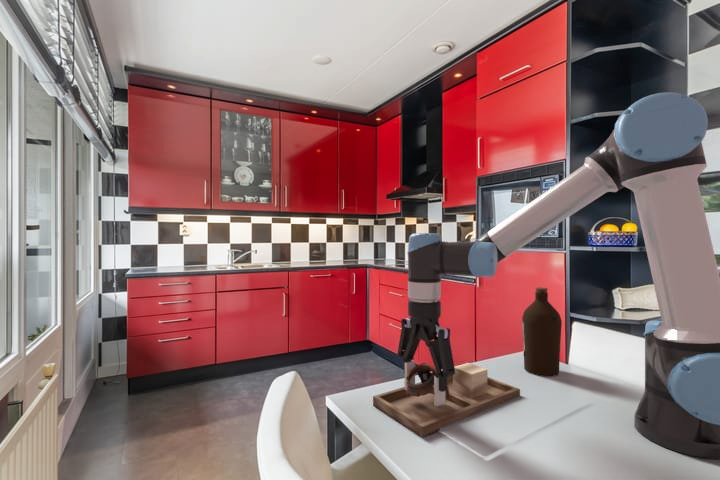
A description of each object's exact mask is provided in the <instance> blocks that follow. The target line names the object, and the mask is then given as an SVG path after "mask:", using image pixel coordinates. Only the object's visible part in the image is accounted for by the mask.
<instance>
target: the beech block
mask: <svg viewBox="0 0 720 480" xmlns="http://www.w3.org/2000/svg"><path fill="white" fill-rule="evenodd" d="M454 368H455V374H454V375H453V390H454V391H456V392H458V393H460V394H463V395H465V396H467V397H469V398H471V399H472V398H475V397H478V396H480V395H483V394H486V393H487V377H488V369H487V368H485V367H482V366H479V365H476V364H473V363H470V362H465V363H462V364H460V365H459V364H458V365H454Z"/></svg>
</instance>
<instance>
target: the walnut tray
mask: <svg viewBox="0 0 720 480" xmlns="http://www.w3.org/2000/svg"><path fill="white" fill-rule="evenodd" d="M415 384H416V385H418V384H422V383H421V381H420V382H417V383H416V382H415ZM447 386H448V389H449V395H450V398H448V396H447V393H446V392H445V404H442V405H440V406H435V405H434V394H431V393H429V394H426V395H423V396H421V395H420V396H419V397H417V396H411V395H410V397H409V396H408V394H407V391H406V390H405V386H402V387H400V388H397V389H393V390H389V391H386V392H383V393H379V394H375V395H372V406H374V407H375V408H377V410H379V411H381V412H383V413H384V414H385V415H387V416H389V417H390V418H392V419H393V420H394V421H396V422H398V423H399V424H400V425H402V426H404V427H406V429H409V430H410V431H412V432H413V433H414V434H416V435H418V436H419V437H421V438H426V437H428V436H431V435H433V434H435V433H438V432H440V431H441V430H442V429H441V428H444V427H446V426H448V425H452V424H454V423H456V422H458V421H461V420H463V419H466V418H469V417H471V416H473V415H477V414H478V413H481V412H483V411H486V410H488V409H491V408H493V407H496V406H498V405H500V404H503V403H506V402H508V401H510V400H513V399H516V398H518V397H520V396H521V389H520V388H518V387H515V386H512V385H510V384H507V383H504V382H502V381H499V380H497V379H493V377H489V376H487V393H486V394H483V395H480V396H478V397H475V398H472V399H471V398H469V397H467V396H465V395H463V394H460V393H458V392H456V391H454V390H453V375H451V376H448V377H447ZM433 388H434V385H433Z"/></svg>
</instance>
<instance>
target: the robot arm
mask: <svg viewBox="0 0 720 480" xmlns="http://www.w3.org/2000/svg"><path fill="white" fill-rule="evenodd" d="M708 120H709V119H708V115H707V112H706V110H705V108H704V107H703V105H702V104H701V103H700V102H699V101H697V100H696V99H695V98H694V97H692V96H688V95H686V94H682V93H680V92H673V91H672V92H671V91H670V92H667V91H666V92H657V93H654V94H650V95H647V96H644V97H642V98H640V99H639V100H636V101H635V102H634V103H632V104H631V105H630V106H629V107H628V108H626V109H625V110H624V111H623V112H622V113H621V114H620V115H619V116H618V118H617V120H616V122H615V123H614V129H613V130H612V132H611V133H610V135H609V137H608V138H607V139H606V140H605V141H604V142H603V143H602V144H601V145H600V146H599V147H598V148H596V150H594V151H593V152H591V154H589V155H588V156H586V157H585V158H584V163H583V165H582V166H580V167H579V168H577V169H575V170H574V171H573V172H572V173H570V174H569V175H568V176H566V177H564V178H562V179H561V180H560V181H559V182H557V183H555V184H554V185H553V186H552V187H550V188H549V189H547V190H546V191H544V192H543V193H542V194H540V195H539V196H537V197H536V198H534V199H533V200H531V201H530V202H529V203H527V204H526V205H524V206H522V208H520V209H519V210H517V211H516V212H514V213H513V214H512V215H510V216H509V217H507V218H506V219H504V220H503V221H501V222H500V223H499V224H497V225H495V226H494V227H493V228H492V229H490V230H488V231H487V232H486V233H484V234H483V235H481V236H479V237H478V238H477V239H475V240H474V241H449V242H448V241H443V239H442V235H441V234H440V233H437V232H435V233H434V232H432V233H431V232H428V233H427V232H424V233H422V232H417V233H412V234H410V235H409V237H408V247H407V248H408V249H407V265H408V266H407V272H408V277H407V279H408V280H407V297H408V298H409V300H408V301H407V315H408V317H407V318H401V320H400V321H401V329H400V330H401V331H400V337H399V342H398V347H397V353H396V354H397V355H396V356H397V357H398V358H401V359H402V362H403V374H404V387H405V390H406V387H407V381H408V380H407V379H406V376H407V374H408V372H409V371H410V370H411V369H412V368H414V367H416V361H415V354H416V352H417V349H418V347H419V345H420V342H421V341H423V342H424V345H425V346H426V347H427V348H428V351H429V353H430V357H431V360H432V363H433V366H434V369H436V372H437V375H435V376H434V393H435V394H434V405H435V406H440V405H442V404H445V391H446V390H447V377H448V376H451V375H454V374H455V368H454V367H455V362H454V358H453V351H452V347H451V346H452V345H451V340H450V337H451V330H450V328H449V327H445V328H444V327H441V326H440V323H439V320H440V317H441V314H442V308H441V307H442V302H441V300H440V299H441V297H442V295H441V293H442V291H441V290H442V289H441V288H442V282H441V281H442V275H443V276H459V277H460V276H461V277H476V278H477V279H478V278H486V277H487V278H491V277H494V276H496V273H497V270H498V263H500V262H501V261H503V260H505V258H507V257H509V256H510V255H512V254H513V253H515V252H516V251H518V250H519V249H521V248H523V247H524V246H526V245H527V244H529V243H531V242H532V241H533V240H535V239H537V238H538V237H539V236H542V235H543V234H545V233H546V232H547V231H549V230H551V229H552V228H554V227H555V226H557V225H558V224H560V223H561V222H563V221H564V220H566V219H567V218H569V217H571V216H572V215H575V213H577V212H578V211H580V210H582V209H584V208H585V207H586V206H588V205H589V204H591V203H593V202H594V201H595V200H597V199H599V198H600V197H601V196H603V195H605V194H606V193H609V192H611V193H617V192H618V191H620V190H621V189H623V188H624V187H625V188H627V189H629V190H631V191H632V192H633V194H634V199H635V204H636V209H637V213H638V218H639V222H640V223H639V224H640V228H641V231H642V236H643V240H644V245H645V250H646V254H647V259H648V264H649V269H650V273H651V278H652V282H653V287H654V292H655V297H656V301H657V307H658V311H659V315H660V320H657V319H656V320H654V319H653V320H649V321H647V322H646V324H645V331H644V332H643V336H644V393H643V394H642V395H641V399H640V401H639V402H638V405H637V407H636V410H635V412H634V419H633V420H634V424H633V426H634V428H635V429H636V430H637V432H638V433H639V434H640V435H642V436H643V437H645V438H646V439H647V440H649V441H651V442H653V443H655V444H657V445H660V446H661V447H663V448H666V449H669V450H672V451H675V452H678V453H681V454H684V455H688V456H692V457H698V458H703V459H712V460H713V459H714V460H720V273H719V268H718V264H717V259H716V255H715V251H714V246H713V243H712V238H711V233H710V230H709V229H710V228H709V225H708V219H707V216H706V213H705V208H704V204H703V200H702V194H701V189H700V185H699V181H698V179H699V176H700V175H701V174H702V173H703V172H704V171H705V169H706V168H707V167H708V165H707V161H706V156H705V152H704V147H703V140H704V138H705V136H706V134H707V129H708V125H709V124H708V123H709V122H708ZM410 383H412V384H416V374H414V375H413V376H412V378H411V379H410ZM406 391H407V390H406Z"/></svg>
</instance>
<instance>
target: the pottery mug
mask: <svg viewBox="0 0 720 480" xmlns="http://www.w3.org/2000/svg"><path fill="white" fill-rule="evenodd" d="M433 366H434V365H433ZM433 366H432V365H430V364H429V363H426V362H422V363H419V364H418V365H415V367H414V368H412V369H411V370H410V371H409V372H408V374H407V376H406V379H407V380H408V381H407V387H406V390H407V394H408V396H409V397H410V395H411V396H417V397H419V396H420V395H421V396H423V395H426V394H429V393H431V394H435V393H434V388H433V385H434V376H435V375H437V372H436V369H435V367H433ZM414 374H415V375H416V374H417V376H418V378H419V381H420V382H421V383H422V384H418V385H416V383H415V384H412V383H410V379H411V378H412V376H413V375H414ZM445 392H446V393H447V396H448V398H450V395H449V389H448V386H447V390H446V391H445Z"/></svg>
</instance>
